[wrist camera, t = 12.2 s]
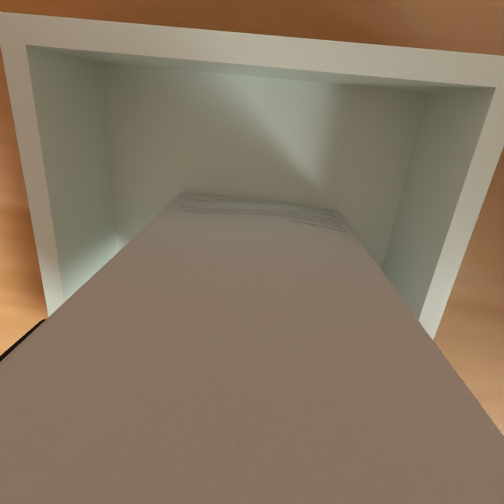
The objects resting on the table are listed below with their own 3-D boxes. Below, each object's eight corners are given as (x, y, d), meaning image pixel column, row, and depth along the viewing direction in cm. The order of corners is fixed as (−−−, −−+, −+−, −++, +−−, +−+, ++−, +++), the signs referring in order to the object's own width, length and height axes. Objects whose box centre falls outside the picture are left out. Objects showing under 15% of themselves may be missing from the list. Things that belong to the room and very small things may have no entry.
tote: (442, 74, 15) (535, 58, 10) (359, 381, 22) (385, 473, 17) (94, 43, 16) (-6, 11, 10) (120, 353, 23) (69, 433, 17)
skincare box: (178, 289, 19) (-65, 737, 6) (180, 182, 17) (-230, 513, 3) (328, 309, 19) (450, 821, 5) (352, 203, 17) (677, 648, 3)
